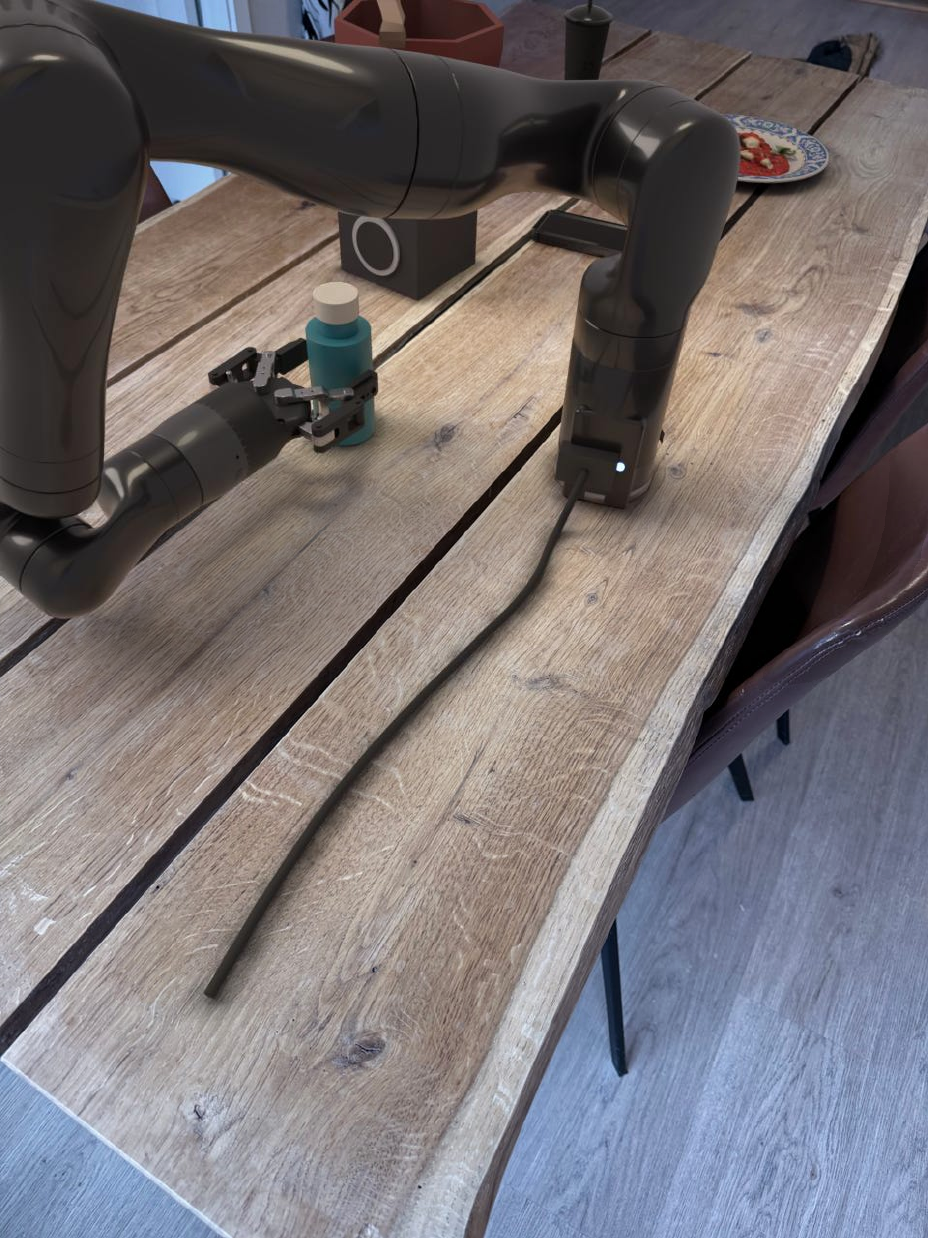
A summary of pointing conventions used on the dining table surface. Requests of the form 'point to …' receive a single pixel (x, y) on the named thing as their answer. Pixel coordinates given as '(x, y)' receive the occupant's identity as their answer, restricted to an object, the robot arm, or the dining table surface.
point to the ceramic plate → (776, 151)
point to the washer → (407, 250)
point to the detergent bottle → (340, 347)
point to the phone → (580, 233)
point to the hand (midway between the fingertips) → (340, 362)
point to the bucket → (424, 28)
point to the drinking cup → (585, 41)
